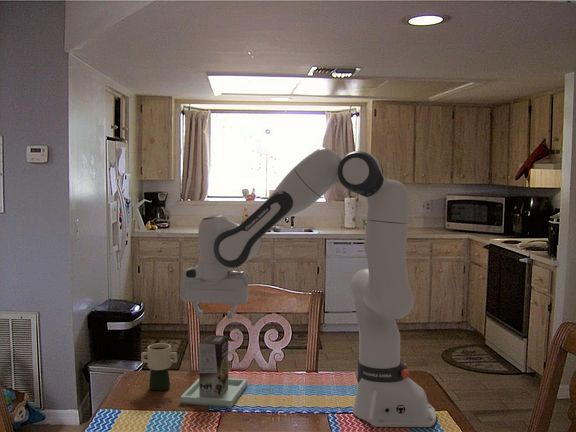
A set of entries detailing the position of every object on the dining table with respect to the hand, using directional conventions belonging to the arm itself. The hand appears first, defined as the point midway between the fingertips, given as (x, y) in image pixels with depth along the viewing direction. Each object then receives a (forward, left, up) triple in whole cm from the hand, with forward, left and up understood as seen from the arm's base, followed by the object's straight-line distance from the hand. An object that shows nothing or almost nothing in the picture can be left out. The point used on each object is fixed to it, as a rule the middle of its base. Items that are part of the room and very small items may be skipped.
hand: (215, 317), depth 171 cm
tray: (0, 0, -23) cm, 23 cm away
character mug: (+18, -1, -23) cm, 30 cm away
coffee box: (0, 0, -23) cm, 23 cm away
